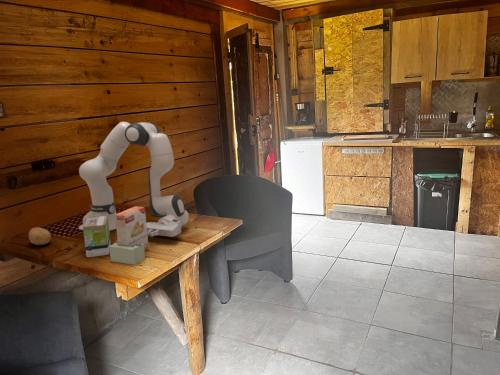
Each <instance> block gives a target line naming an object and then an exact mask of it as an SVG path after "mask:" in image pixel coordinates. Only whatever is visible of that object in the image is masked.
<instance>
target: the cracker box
mask: <svg viewBox="0 0 500 375" xmlns="http://www.w3.org/2000/svg"><path fill="white" fill-rule="evenodd" d="M115 220H116V229H115V230H116V237H117V240H118V245H119V246H126V247H134V246H136V243H138V242H141V243H142V244H144V252H147V251H148V250H150V249H149V240H148V237H149V236H147V227H146V223H147V216H146V207H143V206H137V205H134V206H133V207H130V208H128V209H125V210H123V211H121V212H118V213H116V215H115Z"/></svg>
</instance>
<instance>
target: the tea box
mask: <svg viewBox="0 0 500 375" xmlns="http://www.w3.org/2000/svg"><path fill="white" fill-rule="evenodd" d="M82 232H83V237H84V245H85V246H84V248H85V256H86V258H93V257H101V256H107V255H110V249H109V246H110V245H112V244H111V235H110V231H109V224H108V216H101V217H92V218H86V221H85V223H84V226H83V230H82Z"/></svg>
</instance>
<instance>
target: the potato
mask: <svg viewBox="0 0 500 375" xmlns="http://www.w3.org/2000/svg"><path fill="white" fill-rule="evenodd" d="M51 239H52V234H51V233H50V231H49V230H47V229H45V228H41V227H33V228H31V229H30V230H29V231H28V240H29V241H30V243H31V244H33V245H36V246H42V245H43V246H44V244H45V245H47V244H48V243H50V242H51V241H50V240H51Z"/></svg>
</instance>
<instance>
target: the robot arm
mask: <svg viewBox="0 0 500 375" xmlns="http://www.w3.org/2000/svg"><path fill="white" fill-rule="evenodd" d="M130 144H132V145H135V146H142V147H144V146H147V148H148V149H149V153H150V158H151V166H150V168H149V170H148V187H149V188H148V189H149V202H148V203H149V204H148V207H149V210H150V213H152V214H154V215H153V216H155V217H161V216H160V215H164V216H162V218H159V219H158V221H157V222H153V221H151V222H150V221H149V222H146V227H147V237H151V238H152V237H154V236H155V237H156V236H163V237H170V238H171V237H172V238H173V237H176V236H178V235H180V234H182V227H184V226H185V225H186V224H187V223H188V222H189V220H190V219H189V218H190V217H189V215H190V214H189V213H188V211H187V210H186V208H185V203H184V201H183V198H181V196H179V195H178V194H172V195H164V196H162V195H161V179H162V177H163V176H164V175H165V174H167V173H168V172H169V171H171V169H173V167H174V165H175V157H174V152H173V148H172V144H171V141H170V139H169V137H168V135H166V134H165V133H163V132H160V129H159V127H158V126H157V125H156V124H155V123H152V122H144V121H143V122H133V123H129V122H128V121H120V122H119V123H118V124H117V125H115V127H113V129H112V130H111V131H110V133H109V134H108V135H107V136H106V138H105V140H103V142H102V144H101V145H100V150H99V154H98V155H97V156H96V157H95V158H92V159H88V160H87V161H85V162H84V163H82V164H81V165H80V167H79V168H78V173H79V176H80V178H81V179H82V180H83V181H85V183H86V184H87V186H88V188H89V193H90V198H91V204H89V205H88V206H89V208H90V211H88V212H87V213H86V215H84V216H83V218H82V224H81V225H80V226H78V230H82V231H83V226H84V223H85V221H86V218H92V217H101V216H108V224H109V232H110V231H113V230H117V229H116V220H115V215H116V214H117V211H116V203H115V201H114V200H115V199H114V192H113V188H112V186H110V185H109V182H108V180H107V177H109V176H110V175H111V174H112V173H113V172H115V171H116V169H117V164H118V162H119V160H120V158H121V157H122V155H123V153H124V152H125V151H126V150H127V148H128V147H129V145H130ZM166 214H167V215H166Z"/></svg>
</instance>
